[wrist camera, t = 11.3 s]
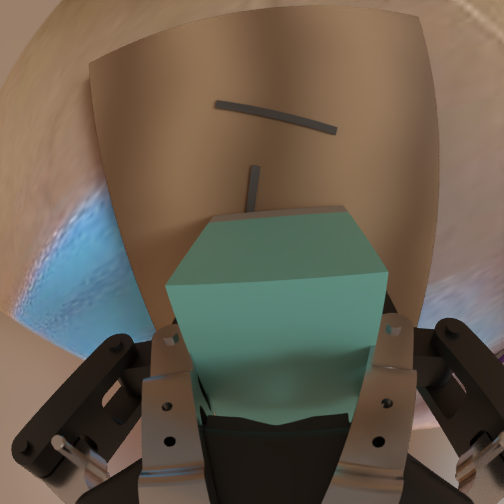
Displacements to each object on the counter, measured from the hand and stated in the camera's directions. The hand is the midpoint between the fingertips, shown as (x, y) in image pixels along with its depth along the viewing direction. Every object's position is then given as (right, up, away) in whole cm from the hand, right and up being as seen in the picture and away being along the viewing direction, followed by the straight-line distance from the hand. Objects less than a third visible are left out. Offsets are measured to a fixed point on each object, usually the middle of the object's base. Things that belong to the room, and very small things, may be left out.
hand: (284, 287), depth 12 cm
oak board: (0, +2, +1) cm, 2 cm away
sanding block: (0, -1, 0) cm, 1 cm away
